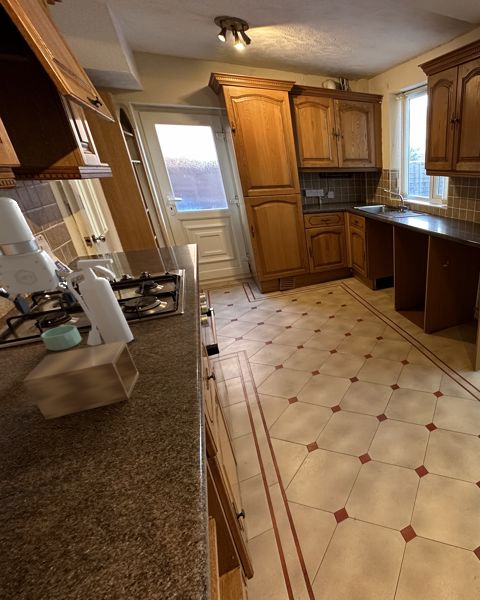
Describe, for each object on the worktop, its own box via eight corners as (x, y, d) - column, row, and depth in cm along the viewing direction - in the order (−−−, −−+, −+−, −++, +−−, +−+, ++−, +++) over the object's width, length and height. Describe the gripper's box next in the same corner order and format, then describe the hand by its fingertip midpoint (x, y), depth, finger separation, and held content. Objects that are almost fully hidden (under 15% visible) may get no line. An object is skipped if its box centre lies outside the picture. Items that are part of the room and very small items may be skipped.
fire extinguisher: (93, 342, 95) (55, 261, 85) (143, 332, 100) (113, 254, 90) (85, 353, 89) (44, 268, 79) (138, 342, 95) (106, 260, 84)
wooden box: (46, 419, 67) (22, 381, 63) (66, 391, 75) (46, 355, 71) (128, 399, 72) (112, 362, 68) (139, 374, 80) (125, 340, 76)
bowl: (43, 354, 89) (35, 339, 88) (55, 341, 95) (48, 328, 94) (76, 347, 92) (69, 333, 90) (86, 336, 98) (79, 323, 96)
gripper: (-41, 257, 76) (-2, 321, 83) (55, 247, 82) (84, 307, 90) (-21, 249, 82) (15, 309, 89) (67, 240, 89) (93, 297, 96)
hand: (49, 308), depth 89 cm, fingers open, 9 cm apart
